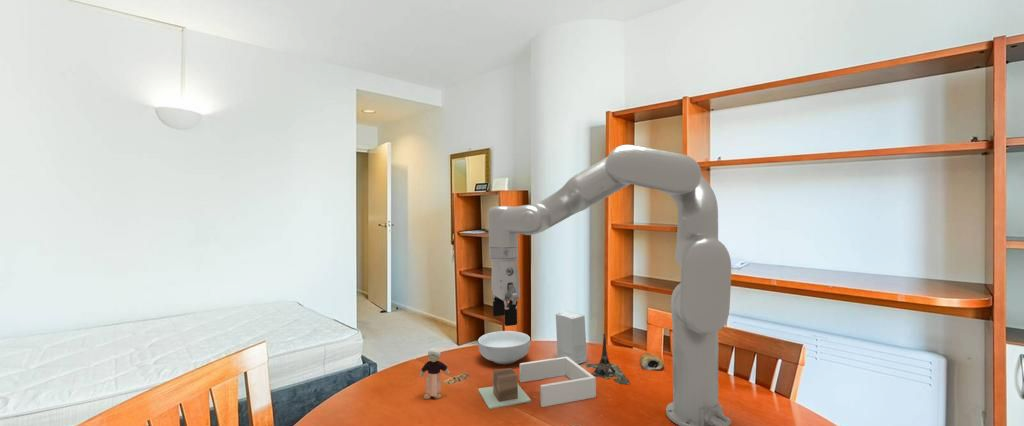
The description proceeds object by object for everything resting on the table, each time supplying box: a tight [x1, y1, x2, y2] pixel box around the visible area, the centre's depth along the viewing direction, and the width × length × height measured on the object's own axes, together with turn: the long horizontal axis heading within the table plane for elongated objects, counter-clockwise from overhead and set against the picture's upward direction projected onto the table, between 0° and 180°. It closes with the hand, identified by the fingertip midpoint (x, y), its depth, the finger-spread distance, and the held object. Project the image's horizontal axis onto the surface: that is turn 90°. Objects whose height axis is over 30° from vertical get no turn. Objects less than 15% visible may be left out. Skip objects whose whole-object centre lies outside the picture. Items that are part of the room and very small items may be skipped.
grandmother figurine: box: [418, 347, 450, 400], centre depth 104 cm, size 8×4×13 cm, turn 105°
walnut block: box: [492, 367, 519, 402], centre depth 103 cm, size 5×5×6 cm
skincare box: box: [555, 310, 588, 365], centre depth 128 cm, size 8×6×15 cm
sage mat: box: [477, 384, 532, 410], centre depth 104 cm, size 11×11×1 cm
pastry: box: [639, 352, 665, 371], centre depth 124 cm, size 9×7×4 cm
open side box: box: [519, 357, 597, 408], centre depth 108 cm, size 16×15×5 cm
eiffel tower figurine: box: [585, 330, 631, 385], centre depth 117 cm, size 15×10×13 cm
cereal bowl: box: [477, 330, 531, 365], centre depth 129 cm, size 17×17×7 cm
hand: (504, 320), depth 103 cm, fingers open, 9 cm apart
